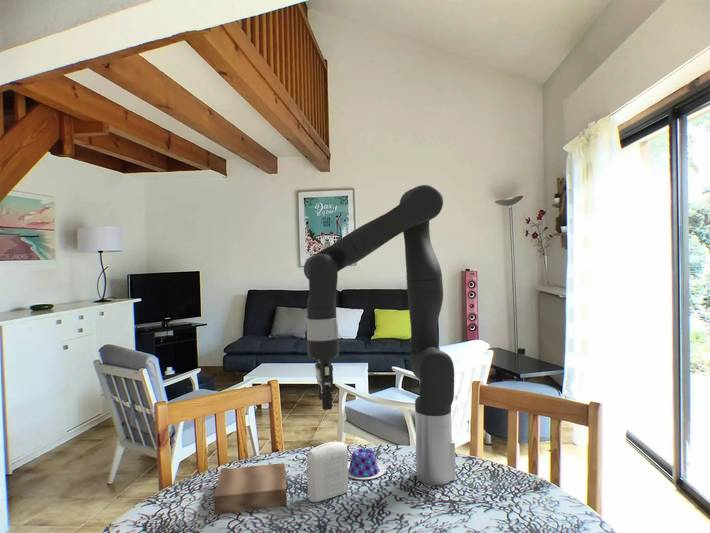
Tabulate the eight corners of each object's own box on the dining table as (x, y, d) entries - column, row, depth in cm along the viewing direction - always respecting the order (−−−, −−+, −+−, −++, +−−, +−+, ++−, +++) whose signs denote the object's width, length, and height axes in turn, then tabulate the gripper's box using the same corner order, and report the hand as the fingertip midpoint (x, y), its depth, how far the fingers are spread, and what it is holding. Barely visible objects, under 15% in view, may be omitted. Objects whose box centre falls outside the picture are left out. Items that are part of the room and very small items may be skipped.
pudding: (343, 461, 127) (343, 443, 127) (386, 462, 126) (385, 443, 126) (339, 481, 115) (339, 461, 115) (386, 482, 114) (385, 461, 114)
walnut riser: (284, 478, 116) (284, 463, 116) (286, 506, 103) (286, 488, 103) (221, 485, 113) (220, 469, 113) (214, 514, 100) (214, 496, 100)
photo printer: (341, 485, 112) (340, 436, 112) (351, 492, 108) (350, 441, 109) (305, 497, 106) (304, 445, 106) (313, 505, 103) (312, 451, 103)
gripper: (342, 340, 101) (345, 411, 101) (334, 331, 115) (336, 394, 115) (309, 342, 100) (312, 414, 100) (305, 333, 114) (307, 397, 114)
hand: (325, 404), depth 108 cm, fingers open, 8 cm apart
